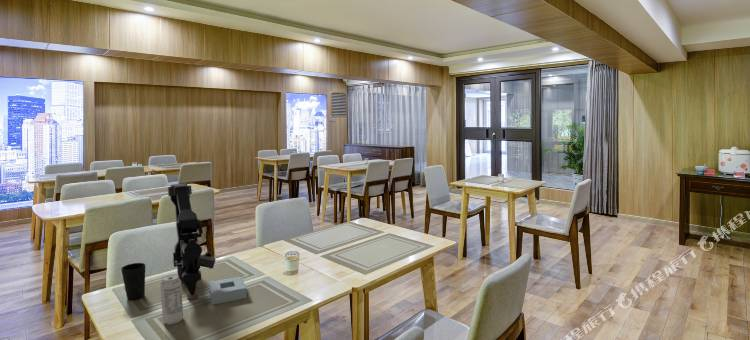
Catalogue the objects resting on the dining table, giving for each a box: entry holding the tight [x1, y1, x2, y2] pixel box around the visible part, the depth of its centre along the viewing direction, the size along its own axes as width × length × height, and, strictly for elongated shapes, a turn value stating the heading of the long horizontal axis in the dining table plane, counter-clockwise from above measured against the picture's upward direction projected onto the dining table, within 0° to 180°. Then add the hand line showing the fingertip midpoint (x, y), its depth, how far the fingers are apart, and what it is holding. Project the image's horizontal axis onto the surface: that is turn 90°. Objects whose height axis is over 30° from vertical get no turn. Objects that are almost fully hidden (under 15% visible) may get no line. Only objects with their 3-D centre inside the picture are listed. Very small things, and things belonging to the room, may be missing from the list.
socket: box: [208, 276, 248, 306], centre depth 152 cm, size 12×12×4 cm
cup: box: [120, 262, 146, 302], centre depth 149 cm, size 8×8×12 cm
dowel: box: [186, 282, 199, 301], centre depth 149 cm, size 4×4×8 cm
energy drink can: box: [159, 274, 184, 326], centre depth 132 cm, size 6×6×15 cm
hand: (192, 291), depth 149 cm, fingers open, 6 cm apart
